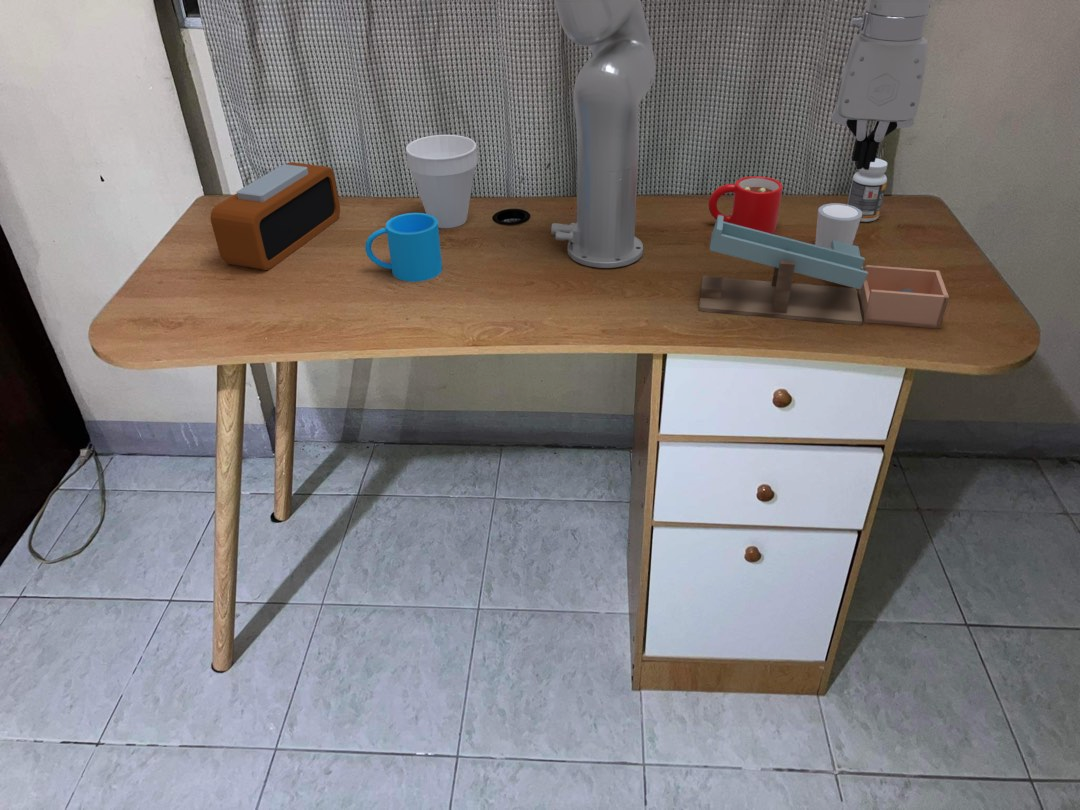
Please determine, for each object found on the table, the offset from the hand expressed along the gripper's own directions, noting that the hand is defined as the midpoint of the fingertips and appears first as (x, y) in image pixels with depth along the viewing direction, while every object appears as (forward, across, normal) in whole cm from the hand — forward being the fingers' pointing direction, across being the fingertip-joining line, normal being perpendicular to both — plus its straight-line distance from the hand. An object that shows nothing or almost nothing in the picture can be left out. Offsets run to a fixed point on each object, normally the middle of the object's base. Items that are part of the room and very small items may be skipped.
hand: (861, 166), depth 117 cm
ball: (+17, +9, -7) cm, 20 cm away
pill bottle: (+19, +6, +27) cm, 34 cm away
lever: (+12, -9, -4) cm, 16 cm away
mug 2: (+19, -15, +19) cm, 31 cm away
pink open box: (+19, +8, -7) cm, 22 cm away
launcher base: (+19, -9, -7) cm, 22 cm away
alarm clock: (+20, -92, 0) cm, 95 cm away
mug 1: (+20, -68, -7) cm, 71 cm away
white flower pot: (+20, -67, +13) cm, 71 cm away
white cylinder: (+19, 0, +12) cm, 22 cm away
